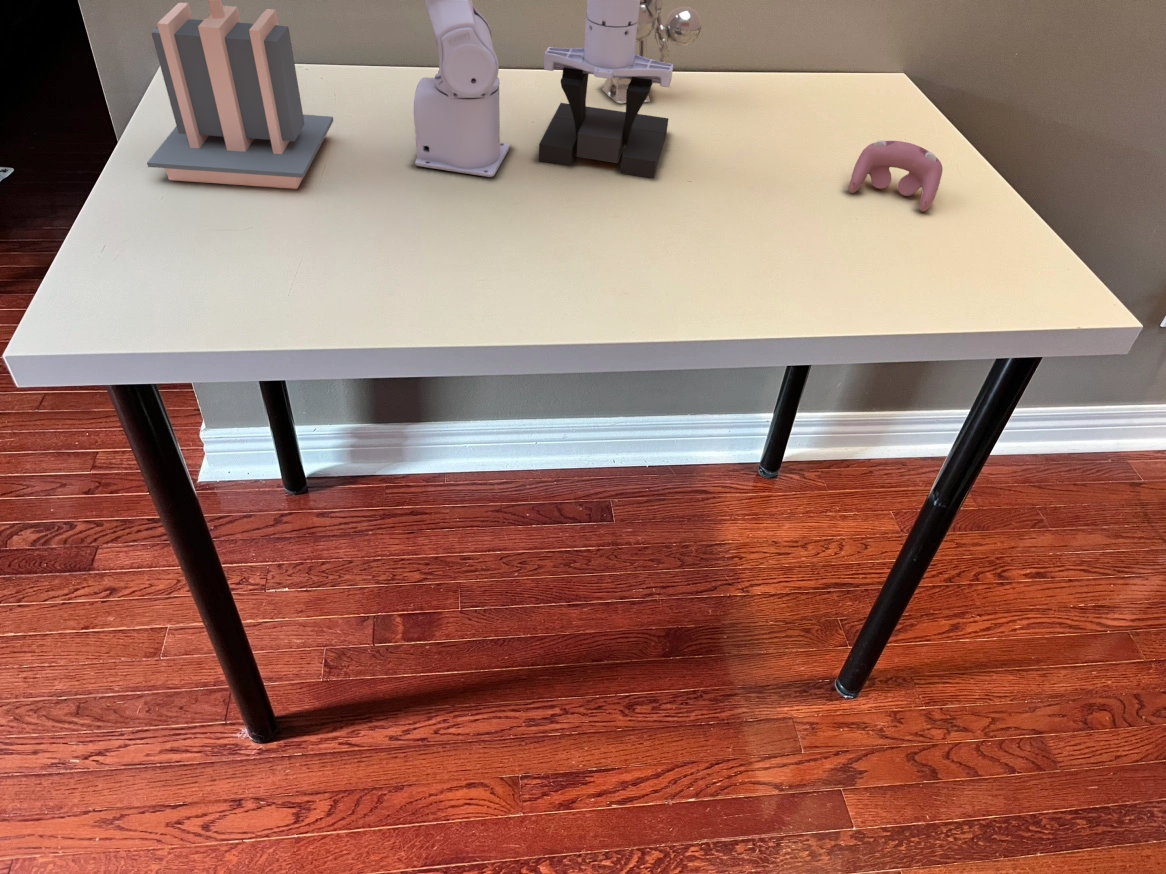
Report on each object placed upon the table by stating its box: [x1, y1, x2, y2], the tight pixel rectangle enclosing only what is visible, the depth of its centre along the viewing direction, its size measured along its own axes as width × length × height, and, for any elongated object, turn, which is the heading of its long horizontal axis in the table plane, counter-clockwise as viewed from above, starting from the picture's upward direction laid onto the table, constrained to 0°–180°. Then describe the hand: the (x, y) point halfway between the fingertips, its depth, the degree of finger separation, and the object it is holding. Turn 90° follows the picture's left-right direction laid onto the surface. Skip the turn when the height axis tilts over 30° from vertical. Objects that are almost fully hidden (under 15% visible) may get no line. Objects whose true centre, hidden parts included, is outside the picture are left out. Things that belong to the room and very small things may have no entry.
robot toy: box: [601, 0, 702, 105], centre depth 116 cm, size 15×6×15 cm, turn 105°
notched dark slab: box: [538, 102, 669, 179], centre depth 109 cm, size 14×12×2 cm
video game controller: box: [848, 140, 943, 213], centre depth 104 cm, size 10×5×7 cm, turn 65°
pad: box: [576, 109, 626, 164], centre depth 106 cm, size 5×7×3 cm
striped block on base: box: [146, 0, 334, 190], centre depth 90 cm, size 18×14×33 cm
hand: (602, 136), depth 106 cm, fingers closed on pad, 5 cm apart
